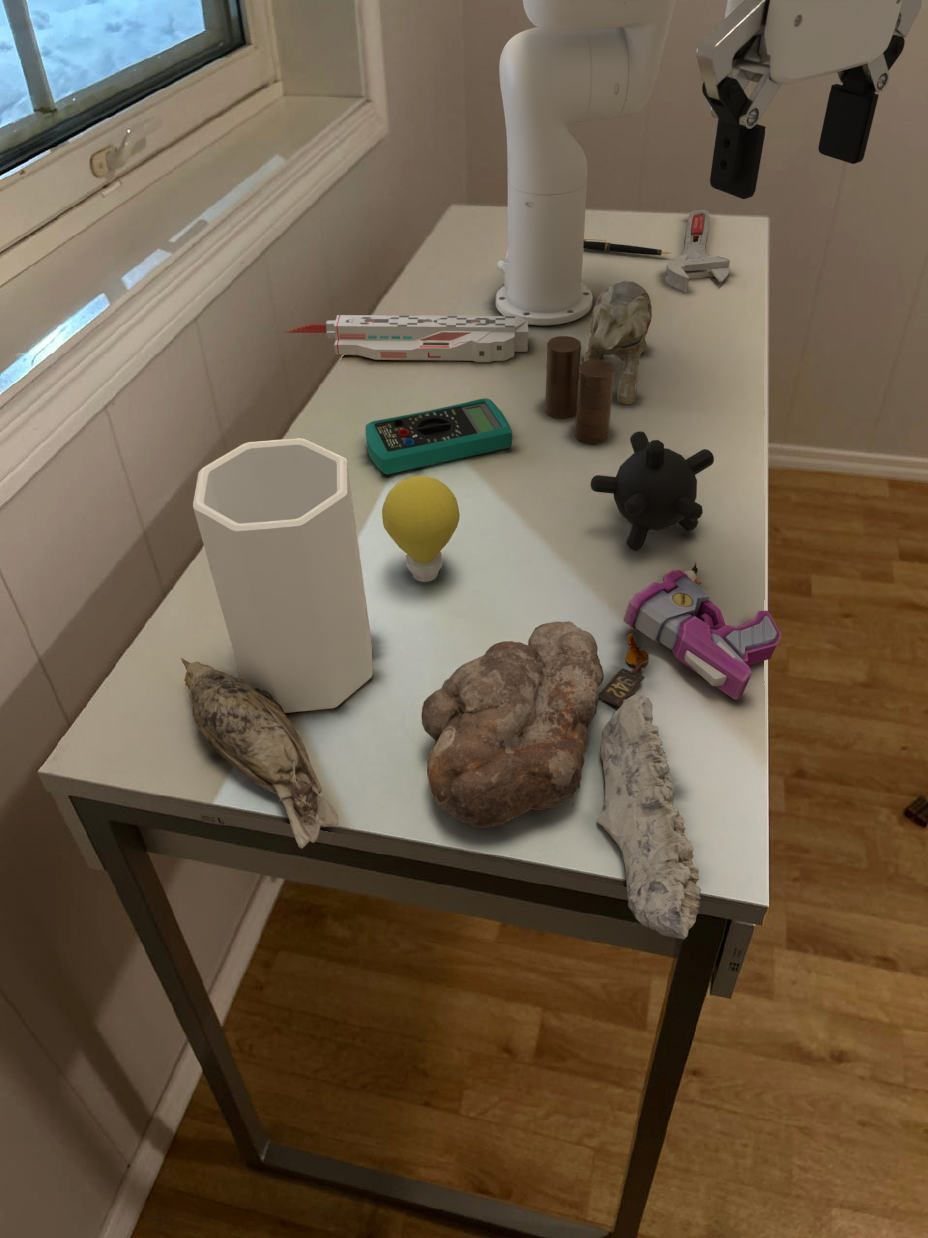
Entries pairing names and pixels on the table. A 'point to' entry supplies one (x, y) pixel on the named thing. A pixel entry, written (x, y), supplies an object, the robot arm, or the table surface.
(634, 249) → the fountain pen
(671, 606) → the toy gun
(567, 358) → the peg far
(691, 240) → the adjustable wrench
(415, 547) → the yellow light bulb
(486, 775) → the rock
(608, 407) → the peg mid
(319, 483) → the cup
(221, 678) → the bird model
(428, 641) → the table surface
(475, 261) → the table surface
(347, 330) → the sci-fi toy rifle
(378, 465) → the digital multimeter
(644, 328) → the figurine
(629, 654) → the key tag
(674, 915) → the fossil
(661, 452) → the toy ball
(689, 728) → the table surface
